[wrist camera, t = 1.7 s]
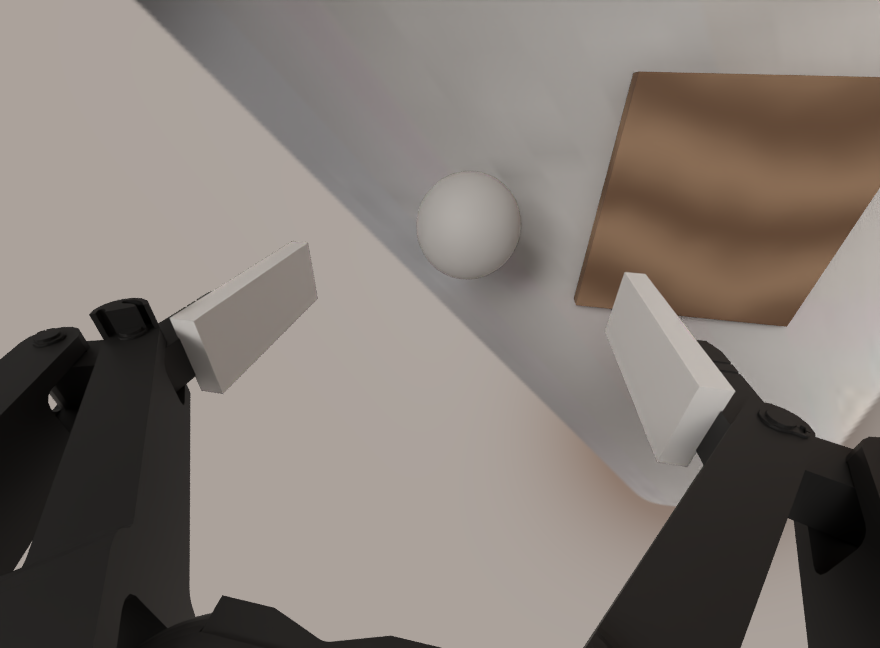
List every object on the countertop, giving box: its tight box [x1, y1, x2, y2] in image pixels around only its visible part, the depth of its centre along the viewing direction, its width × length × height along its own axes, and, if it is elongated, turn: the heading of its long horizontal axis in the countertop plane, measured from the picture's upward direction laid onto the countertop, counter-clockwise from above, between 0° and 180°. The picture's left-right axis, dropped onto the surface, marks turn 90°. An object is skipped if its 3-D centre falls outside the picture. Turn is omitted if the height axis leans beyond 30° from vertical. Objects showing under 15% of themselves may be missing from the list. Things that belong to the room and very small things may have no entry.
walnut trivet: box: [574, 72, 880, 327], centre depth 25 cm, size 16×16×1 cm
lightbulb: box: [416, 171, 521, 279], centre depth 23 cm, size 6×6×11 cm
